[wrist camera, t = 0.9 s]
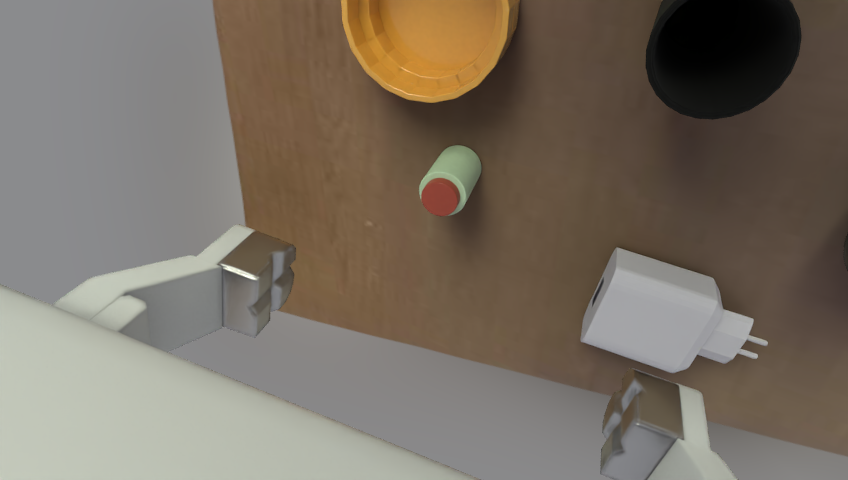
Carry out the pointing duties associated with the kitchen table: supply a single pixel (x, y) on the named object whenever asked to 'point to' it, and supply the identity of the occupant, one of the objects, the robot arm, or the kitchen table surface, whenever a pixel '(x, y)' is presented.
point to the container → (450, 181)
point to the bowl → (429, 43)
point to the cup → (721, 54)
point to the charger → (662, 315)
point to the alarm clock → (846, 252)
